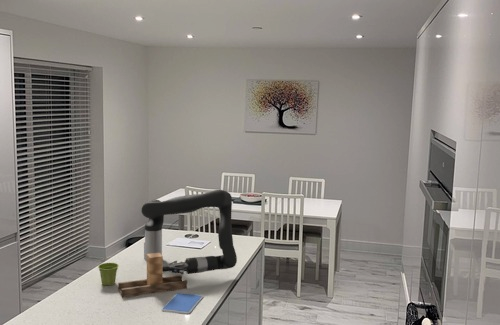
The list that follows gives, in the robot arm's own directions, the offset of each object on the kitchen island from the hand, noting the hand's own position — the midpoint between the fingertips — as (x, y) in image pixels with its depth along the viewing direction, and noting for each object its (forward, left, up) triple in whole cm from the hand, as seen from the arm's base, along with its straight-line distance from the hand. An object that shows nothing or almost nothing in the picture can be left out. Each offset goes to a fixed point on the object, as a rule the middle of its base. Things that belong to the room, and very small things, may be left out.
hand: (161, 269), depth 222 cm
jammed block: (-1, -3, -8) cm, 8 cm away
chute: (-2, -3, -9) cm, 10 cm away
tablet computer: (+21, -5, -10) cm, 23 cm away
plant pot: (-23, -13, -9) cm, 28 cm away
